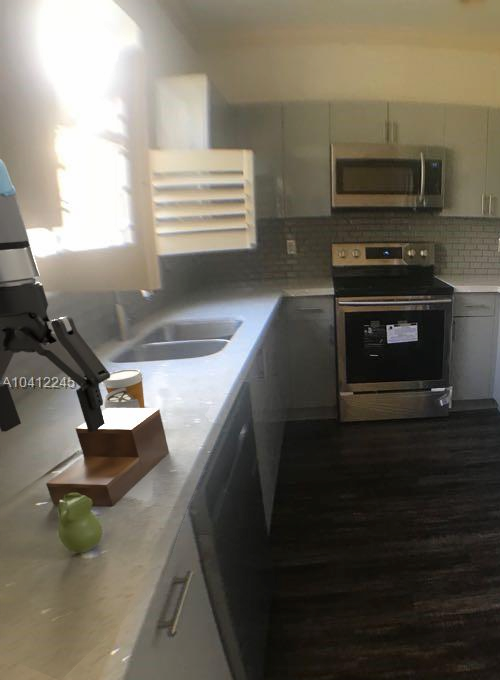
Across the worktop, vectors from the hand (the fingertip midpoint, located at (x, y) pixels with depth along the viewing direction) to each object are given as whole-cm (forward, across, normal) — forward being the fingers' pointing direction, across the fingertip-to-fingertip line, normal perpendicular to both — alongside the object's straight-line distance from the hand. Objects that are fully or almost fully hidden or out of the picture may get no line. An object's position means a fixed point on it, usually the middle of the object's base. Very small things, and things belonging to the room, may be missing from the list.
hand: (53, 427), depth 68 cm
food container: (+21, -19, +39) cm, 48 cm away
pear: (+21, 0, -1) cm, 21 cm away
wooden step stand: (+21, -9, +20) cm, 30 cm away
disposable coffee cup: (+21, -24, +49) cm, 59 cm away
